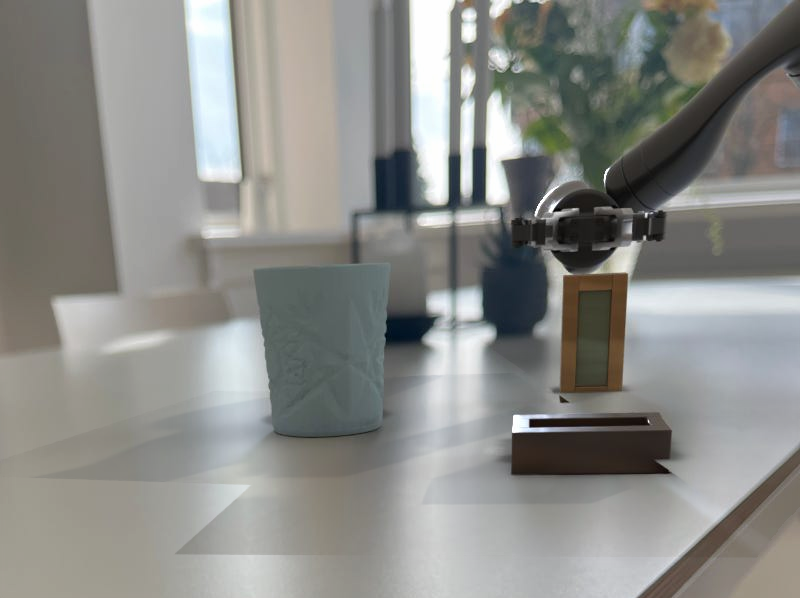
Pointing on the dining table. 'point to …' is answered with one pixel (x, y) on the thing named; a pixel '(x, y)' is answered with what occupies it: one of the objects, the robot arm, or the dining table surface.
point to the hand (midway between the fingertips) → (590, 229)
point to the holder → (590, 443)
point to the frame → (593, 332)
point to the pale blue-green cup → (324, 346)
